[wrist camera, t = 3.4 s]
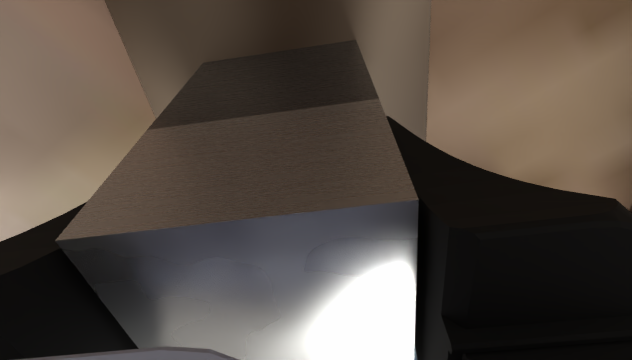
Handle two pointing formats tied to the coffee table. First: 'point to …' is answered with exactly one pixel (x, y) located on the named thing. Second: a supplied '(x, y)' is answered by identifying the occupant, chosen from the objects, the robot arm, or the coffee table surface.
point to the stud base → (280, 42)
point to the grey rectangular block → (261, 216)
